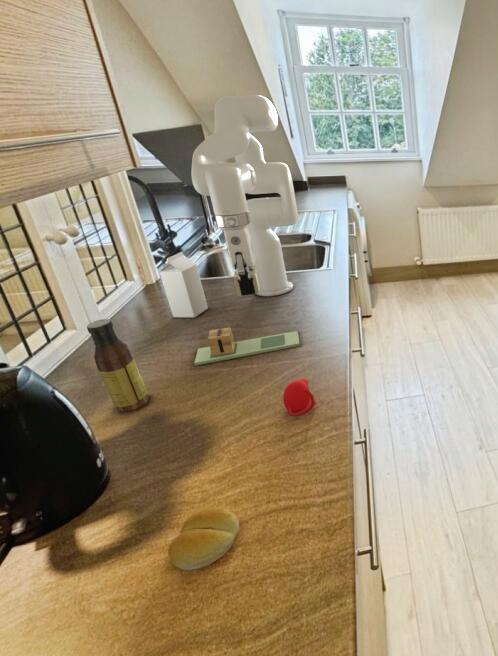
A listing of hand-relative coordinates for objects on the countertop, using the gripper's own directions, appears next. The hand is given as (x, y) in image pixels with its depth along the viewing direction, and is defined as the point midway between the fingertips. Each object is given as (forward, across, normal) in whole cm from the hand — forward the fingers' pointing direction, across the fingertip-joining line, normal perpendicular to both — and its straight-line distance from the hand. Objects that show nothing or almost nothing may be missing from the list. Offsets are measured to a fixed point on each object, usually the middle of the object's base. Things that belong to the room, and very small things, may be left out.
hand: (248, 289), depth 116 cm
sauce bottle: (+16, -20, +26) cm, 36 cm away
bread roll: (+16, -63, +6) cm, 66 cm away
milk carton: (+15, +30, +21) cm, 40 cm away
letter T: (0, 0, 0) cm, 0 cm away
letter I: (+14, -2, +9) cm, 17 cm away
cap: (+16, -35, -8) cm, 40 cm away
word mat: (+15, -2, +3) cm, 16 cm away
